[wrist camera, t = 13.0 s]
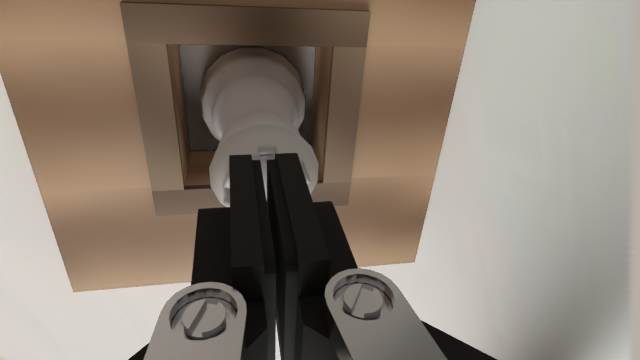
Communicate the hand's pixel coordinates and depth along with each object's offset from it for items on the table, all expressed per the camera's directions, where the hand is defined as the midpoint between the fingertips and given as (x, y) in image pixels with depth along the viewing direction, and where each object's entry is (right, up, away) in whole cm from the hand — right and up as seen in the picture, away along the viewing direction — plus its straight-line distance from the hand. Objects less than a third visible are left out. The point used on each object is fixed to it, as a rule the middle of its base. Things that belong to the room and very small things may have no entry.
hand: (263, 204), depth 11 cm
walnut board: (-2, +4, +8) cm, 9 cm away
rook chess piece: (-2, +5, +8) cm, 9 cm away
